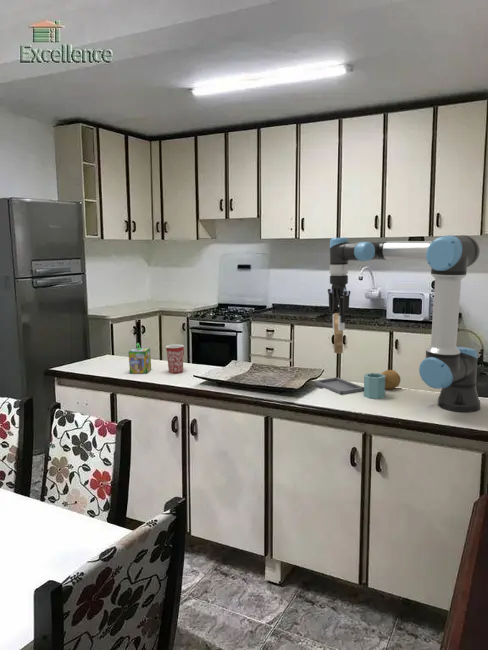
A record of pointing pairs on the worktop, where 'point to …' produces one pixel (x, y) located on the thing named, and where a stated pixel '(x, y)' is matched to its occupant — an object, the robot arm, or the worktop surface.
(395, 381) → the potato
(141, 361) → the chalk box
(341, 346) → the dowel
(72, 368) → the worktop surface
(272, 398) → the worktop surface
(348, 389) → the tray
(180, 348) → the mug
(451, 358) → the robot arm
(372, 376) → the cup
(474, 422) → the worktop surface
